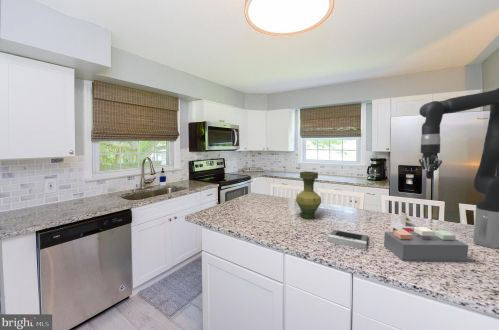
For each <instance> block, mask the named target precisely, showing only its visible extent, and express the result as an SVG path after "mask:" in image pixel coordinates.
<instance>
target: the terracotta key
mask: <svg viewBox="0 0 499 330" xmlns="http://www.w3.org/2000/svg"><path fill="white" fill-rule="evenodd" d="M394 235H395V236H396V237H398V238H399V239H401V240H408V239H412V234H410V233H408V232H407V231H404V230H394Z"/></svg>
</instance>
